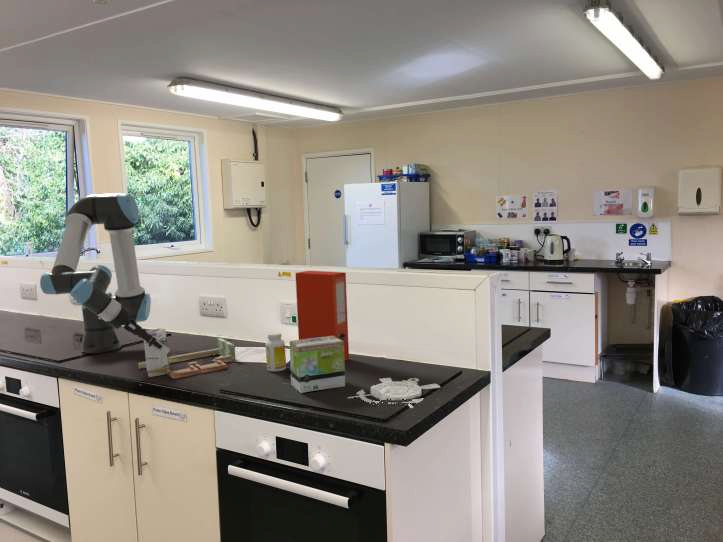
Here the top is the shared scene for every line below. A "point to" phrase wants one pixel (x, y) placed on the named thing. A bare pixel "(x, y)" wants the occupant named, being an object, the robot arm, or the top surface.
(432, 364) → the top surface
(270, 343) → the supplement bottle
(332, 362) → the tea box
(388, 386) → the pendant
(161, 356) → the syrup box
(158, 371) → the channel
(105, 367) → the top surface
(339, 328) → the file binder
